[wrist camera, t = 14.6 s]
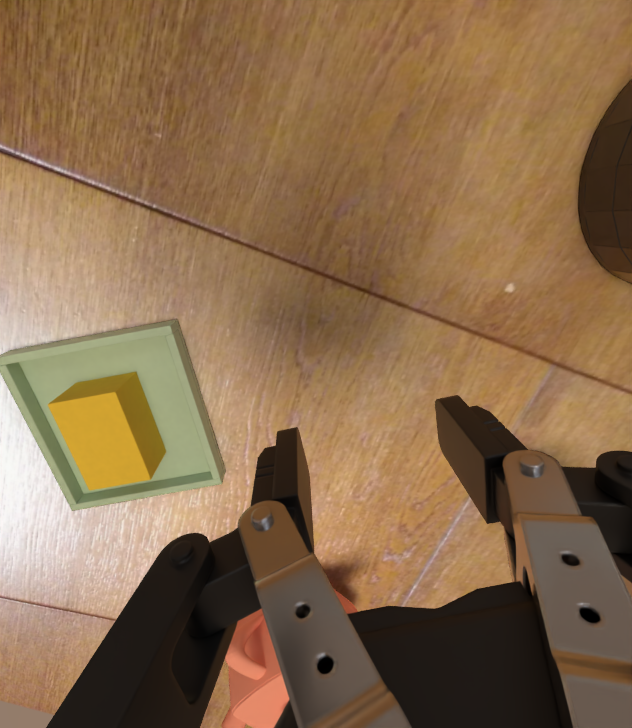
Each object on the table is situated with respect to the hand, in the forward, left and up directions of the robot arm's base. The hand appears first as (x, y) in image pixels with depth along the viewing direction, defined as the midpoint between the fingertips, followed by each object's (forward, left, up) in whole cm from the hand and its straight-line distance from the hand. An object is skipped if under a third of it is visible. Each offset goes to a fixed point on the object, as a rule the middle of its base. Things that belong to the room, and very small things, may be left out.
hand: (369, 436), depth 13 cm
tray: (+4, -17, -15) cm, 23 cm away
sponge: (+4, -17, -15) cm, 23 cm away
